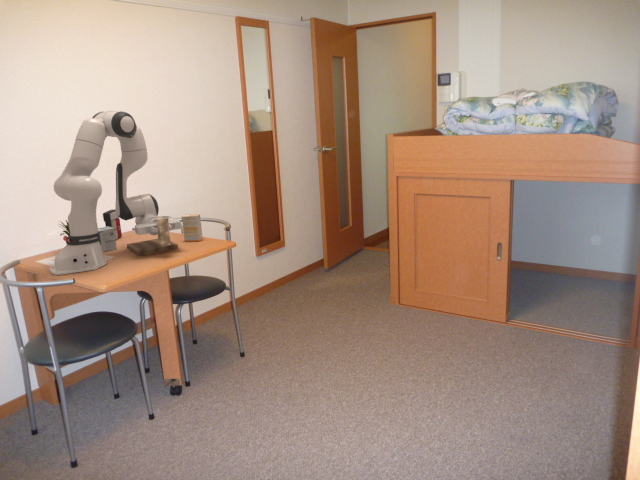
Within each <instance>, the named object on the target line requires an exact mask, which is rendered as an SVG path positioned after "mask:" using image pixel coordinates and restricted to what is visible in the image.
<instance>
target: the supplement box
mask: <svg viewBox="0 0 640 480" xmlns="http://www.w3.org/2000/svg"><path fill="white" fill-rule="evenodd" d="M181 225H182V231H183V238H184V242H185V243H186V242H190V243H191V242H201V241H203V240H204V238H203V237H204V236H203V231H202V230H203V229H202V221H201V214H200V213H196V214H195V213H192V214H191V213H190V214H183V215H182V216H181Z"/></svg>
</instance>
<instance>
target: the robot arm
mask: <svg viewBox="0 0 640 480" xmlns="http://www.w3.org/2000/svg"><path fill="white" fill-rule="evenodd" d="M107 137H111V138H116V139H118V142H119V145H120V150H121V158H120V162H119V163H117V165H116V168H115V207H114V208H115V209H114V210H116V214H117V216H118V217H119V219H121V220H123V221H128V220H133V219H134V218H135V223H134V224H135V225H134V227H132V228H131V230H132V231H134V232H135V234H136V235H139V236H141V235H152V236H158V232H160V231H159V228H157V222H156V218H162V217H166V218H168V222H169V232H170V231H174V230H180V229H182V221H181V220H179V219H178V218H173V217H172V216H170V215H169V216H168V215H167V216H165V215H162V216H161V215H160V216H159V209H160V208H159V203H158V201H157V199H156V198H155V197H154V196H153V195H152V194H150V193H144V194H140V195H135V196H131V197H128V196H127V195H128V194H127V186H128V185H127V183H128V182H127V181H128V178H129V177H130V176H131V175H132V174H134V173H135V172H138V171H139V170H141V169H142V168H143V167H144V166H145V165H146V164H147V162H148V159H149V158H148V148H147V144H146V143H147V142H146V139H145V136H144V134H143V131H142V129H141V127H140V126H138V125H137V124H136V121H135V119H134V117H133V116H132V115H131V114H130V113H128V112H126V111H115V110H107V111H99V112H97V113H95V114H94V115H93V116H92V117H89V118H86V119H84V120H82V123H81V125H80V127H79V129H78V131H77V133H76V136H75V140H74V144H73V148H72V150H71V153H70V157H69V159H68V162H67V163H66V166H65V167H64V169H63V171H62V172H61V175H60V176H59V177H57V178H56V180H55V181H54V184H53V191H54V194H55V195H57V197H59V198H61V199H62V200H64V201H70V205H71V206H70V210H69V211H70V212H69V214H68V215H67V221H68V223H69V230H70V235H69V236H68V235H63V237H62V239H63V241H64V242H65V243H66V245H65V246H64V247H63V248H61V250H60V251H59V252H57V253H56V254H55V257H54V265H53V266H51V267H50V268H49V272H50V274H52V275H55V276H62V275H68V274H75V273H81V272H88V271H95V270H97V269H100V268H101V267H103V266H106V264H108V262H107V259H106V257H105V255H104V252H103V251H102V248H101V237H100V233H99V232H98V222H97V220H98V219H97V205H98V200H99V198H100V197H101V196H102V192H103V189H102V188H103V187H102V185H101V183H100V181H99V180H98V179H96V178H94V177H92V176H91V175H92V173H93V172H94V171H95V169H97V168H98V166H100V165H99V164H100V161H101V157H102V152H103V150H104V145H105V140H106V139H107Z"/></svg>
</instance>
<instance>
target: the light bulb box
mask: <svg viewBox="0 0 640 480" xmlns="http://www.w3.org/2000/svg"><path fill="white" fill-rule="evenodd" d="M98 232H99V233H100V237H101V248H102V251H103V253H106V252H110V251H114V250H117V249H118V248H117V242H116V240H115V233H114V228H113V227H109V226H107V227H106V226H103V227H99V228H98Z"/></svg>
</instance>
